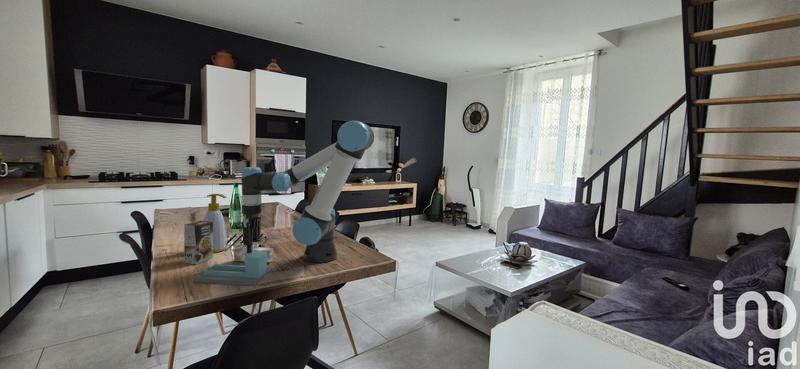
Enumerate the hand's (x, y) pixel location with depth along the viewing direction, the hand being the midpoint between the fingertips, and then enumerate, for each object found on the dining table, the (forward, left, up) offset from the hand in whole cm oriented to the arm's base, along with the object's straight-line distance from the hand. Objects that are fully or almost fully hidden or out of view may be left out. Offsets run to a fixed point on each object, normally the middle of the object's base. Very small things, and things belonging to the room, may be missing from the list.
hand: (252, 258), depth 145 cm
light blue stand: (0, +17, -1) cm, 17 cm away
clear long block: (-1, 0, -1) cm, 1 cm away
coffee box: (+22, +2, -2) cm, 22 cm away
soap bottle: (+24, -13, -2) cm, 27 cm away
